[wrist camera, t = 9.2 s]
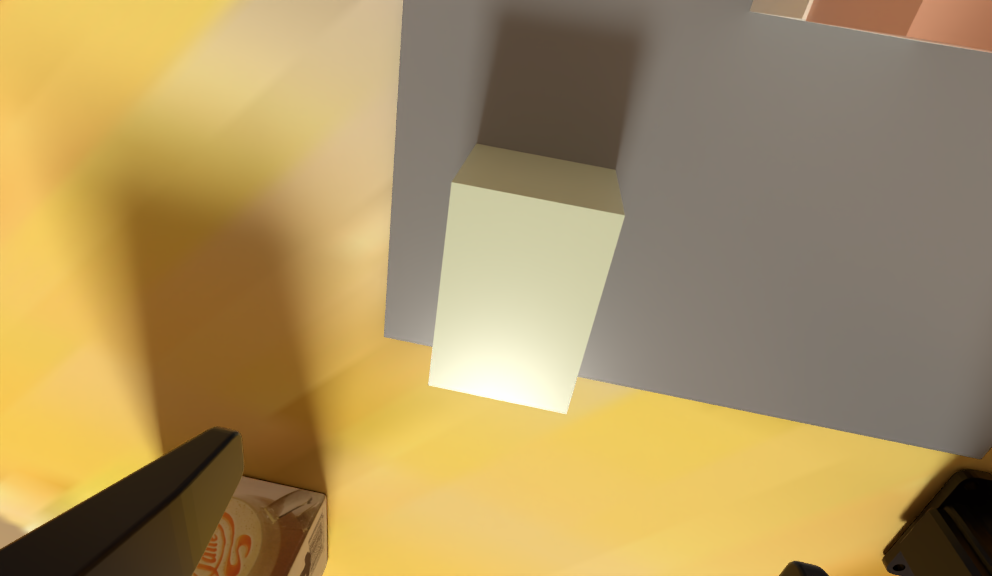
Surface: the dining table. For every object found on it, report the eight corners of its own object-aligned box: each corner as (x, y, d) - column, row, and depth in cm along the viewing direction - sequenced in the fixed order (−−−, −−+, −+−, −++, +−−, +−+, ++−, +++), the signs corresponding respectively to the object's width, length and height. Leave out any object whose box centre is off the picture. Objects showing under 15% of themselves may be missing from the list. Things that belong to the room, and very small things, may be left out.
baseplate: (1659, -351, 10) (2290, -547, 7) (974, 451, 21) (1060, 552, 18) (438, -523, 11) (368, -783, 7) (386, 331, 22) (347, 402, 18)
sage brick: (476, 143, 18) (451, 182, 14) (615, 169, 17) (624, 215, 14) (452, 319, 21) (428, 385, 18) (568, 343, 21) (566, 413, 17)
